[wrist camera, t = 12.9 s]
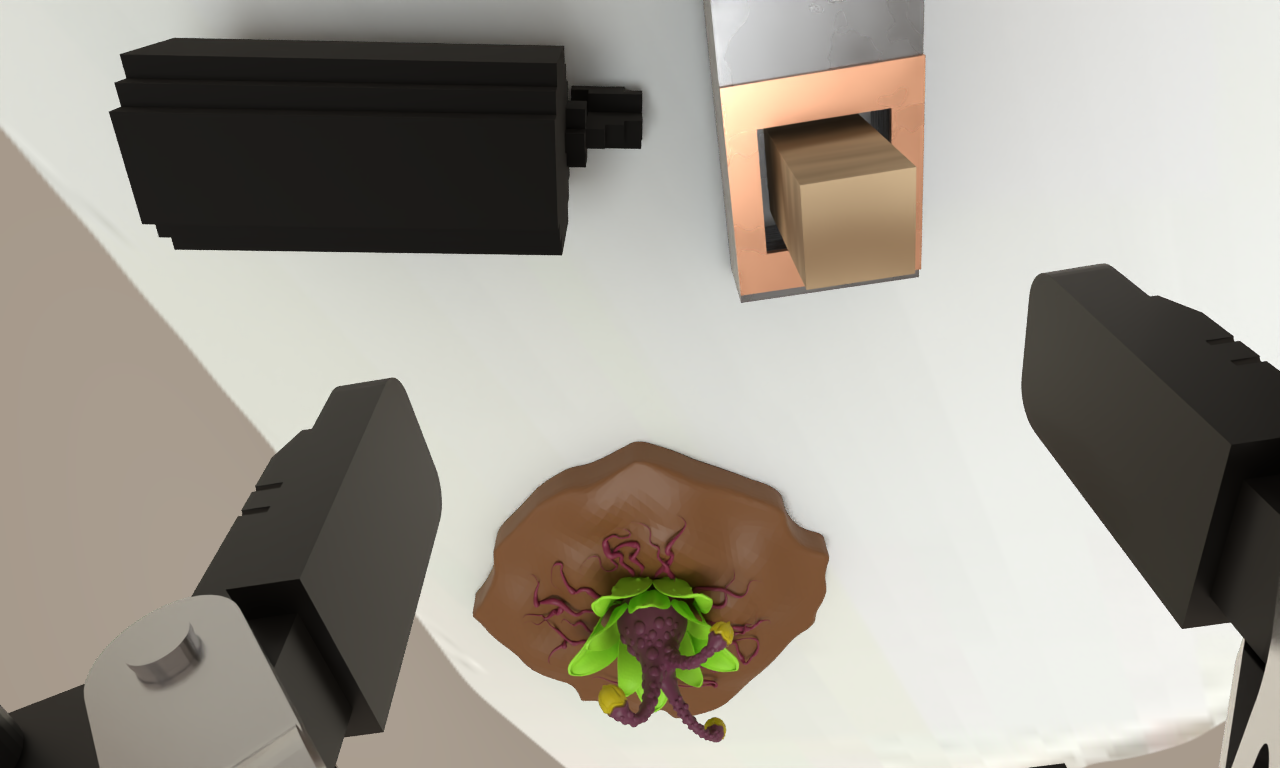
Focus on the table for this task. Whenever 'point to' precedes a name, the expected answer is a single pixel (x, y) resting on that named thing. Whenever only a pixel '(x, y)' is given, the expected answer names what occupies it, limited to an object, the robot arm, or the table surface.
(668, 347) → the table surface
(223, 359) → the table surface
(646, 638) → the plant
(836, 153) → the brown upright block
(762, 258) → the rail
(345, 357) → the table surface
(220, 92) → the security camera
